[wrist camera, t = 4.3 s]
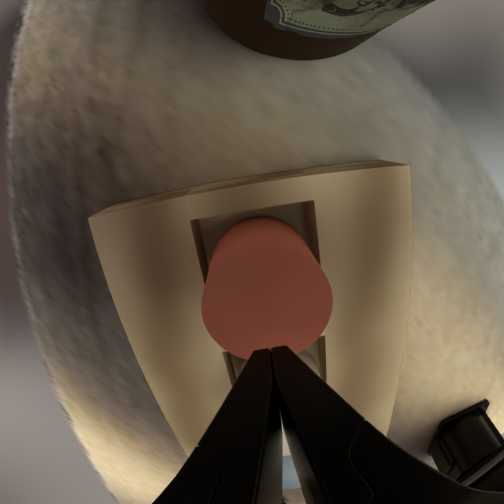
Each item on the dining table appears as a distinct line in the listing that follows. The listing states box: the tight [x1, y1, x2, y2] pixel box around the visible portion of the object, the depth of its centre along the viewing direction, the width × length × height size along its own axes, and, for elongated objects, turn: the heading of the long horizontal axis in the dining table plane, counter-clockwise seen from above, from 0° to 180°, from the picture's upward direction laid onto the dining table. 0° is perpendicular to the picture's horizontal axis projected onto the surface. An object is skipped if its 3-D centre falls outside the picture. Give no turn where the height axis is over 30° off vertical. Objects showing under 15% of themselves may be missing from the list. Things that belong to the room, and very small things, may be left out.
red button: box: [201, 216, 333, 360], centre depth 12 cm, size 4×4×4 cm
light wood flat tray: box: [88, 160, 412, 458], centre depth 17 cm, size 14×20×3 cm
